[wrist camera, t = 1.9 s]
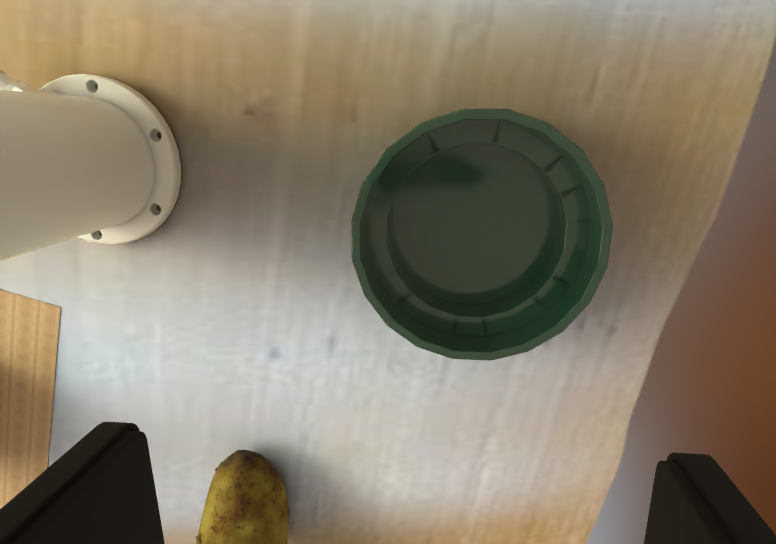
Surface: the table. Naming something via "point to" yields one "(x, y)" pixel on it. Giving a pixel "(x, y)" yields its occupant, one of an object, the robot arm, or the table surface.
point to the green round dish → (481, 234)
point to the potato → (245, 503)
